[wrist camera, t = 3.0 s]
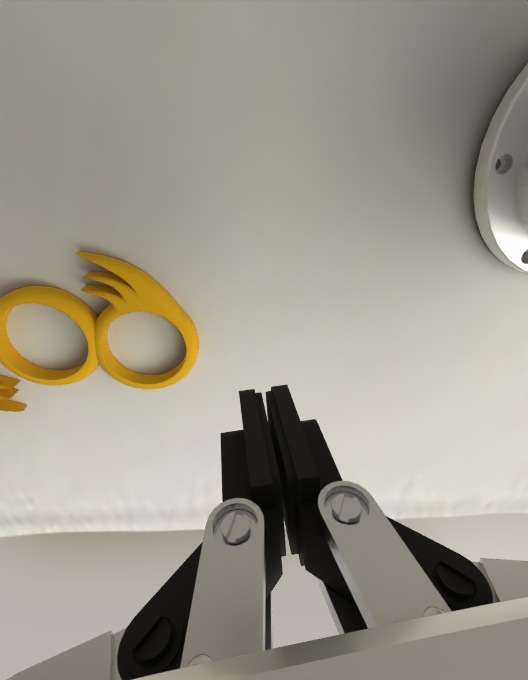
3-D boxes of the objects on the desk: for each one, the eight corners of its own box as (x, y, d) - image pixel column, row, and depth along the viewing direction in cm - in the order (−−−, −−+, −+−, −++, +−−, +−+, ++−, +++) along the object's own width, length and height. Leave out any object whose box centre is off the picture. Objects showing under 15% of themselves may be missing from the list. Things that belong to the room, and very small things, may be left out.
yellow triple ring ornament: (196, 407, 23) (203, 261, 19) (194, 422, 21) (201, 268, 17) (-80, 396, 20) (-144, 225, 16) (-103, 412, 19) (-180, 230, 15)
